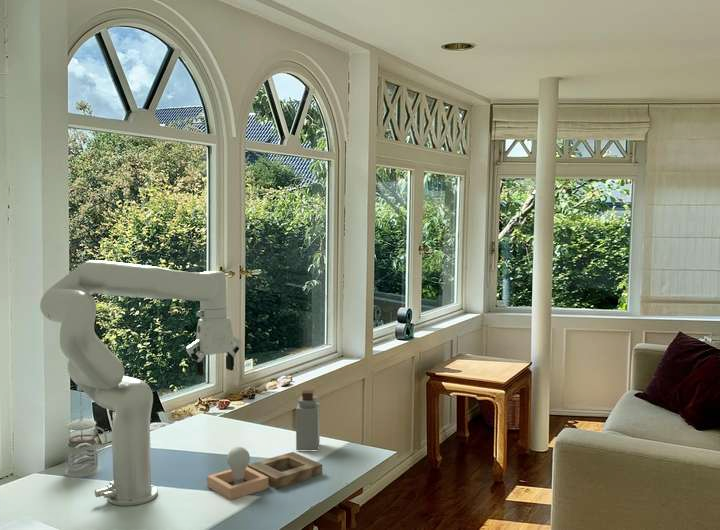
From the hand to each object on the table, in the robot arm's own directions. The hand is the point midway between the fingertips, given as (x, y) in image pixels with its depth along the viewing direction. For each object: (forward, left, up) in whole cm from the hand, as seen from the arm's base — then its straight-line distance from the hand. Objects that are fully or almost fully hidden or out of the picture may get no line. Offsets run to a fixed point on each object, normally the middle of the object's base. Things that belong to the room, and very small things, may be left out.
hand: (215, 372), depth 210 cm
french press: (-30, +22, -28) cm, 47 cm away
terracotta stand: (-4, -18, -28) cm, 33 cm away
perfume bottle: (+30, -5, -28) cm, 42 cm away
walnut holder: (+11, -19, -28) cm, 36 cm away
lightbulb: (-3, -18, -28) cm, 33 cm away
